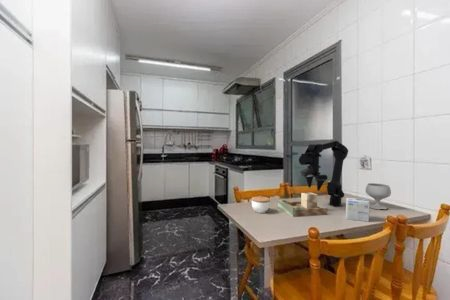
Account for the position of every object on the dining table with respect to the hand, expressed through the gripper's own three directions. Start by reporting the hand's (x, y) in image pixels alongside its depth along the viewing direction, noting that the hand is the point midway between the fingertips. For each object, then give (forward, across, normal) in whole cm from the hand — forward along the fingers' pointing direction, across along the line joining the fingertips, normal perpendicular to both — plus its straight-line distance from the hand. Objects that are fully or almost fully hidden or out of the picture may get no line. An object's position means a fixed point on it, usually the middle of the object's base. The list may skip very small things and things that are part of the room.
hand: (313, 189), depth 148 cm
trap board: (+12, +4, -11) cm, 17 cm away
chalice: (+14, +4, +44) cm, 47 cm away
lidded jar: (+12, 0, -36) cm, 38 cm away
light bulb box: (+13, +22, +12) cm, 28 cm away
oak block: (+10, +4, -6) cm, 12 cm away
